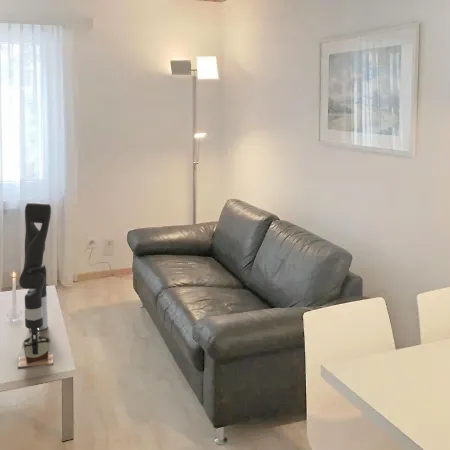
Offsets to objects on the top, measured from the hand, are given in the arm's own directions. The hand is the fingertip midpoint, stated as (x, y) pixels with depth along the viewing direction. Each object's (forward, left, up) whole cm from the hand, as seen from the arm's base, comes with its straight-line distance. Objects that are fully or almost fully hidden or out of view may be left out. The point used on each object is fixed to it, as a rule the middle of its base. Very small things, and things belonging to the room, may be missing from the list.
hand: (35, 350), depth 259 cm
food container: (0, 0, -5) cm, 5 cm away
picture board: (0, 0, -5) cm, 5 cm away
